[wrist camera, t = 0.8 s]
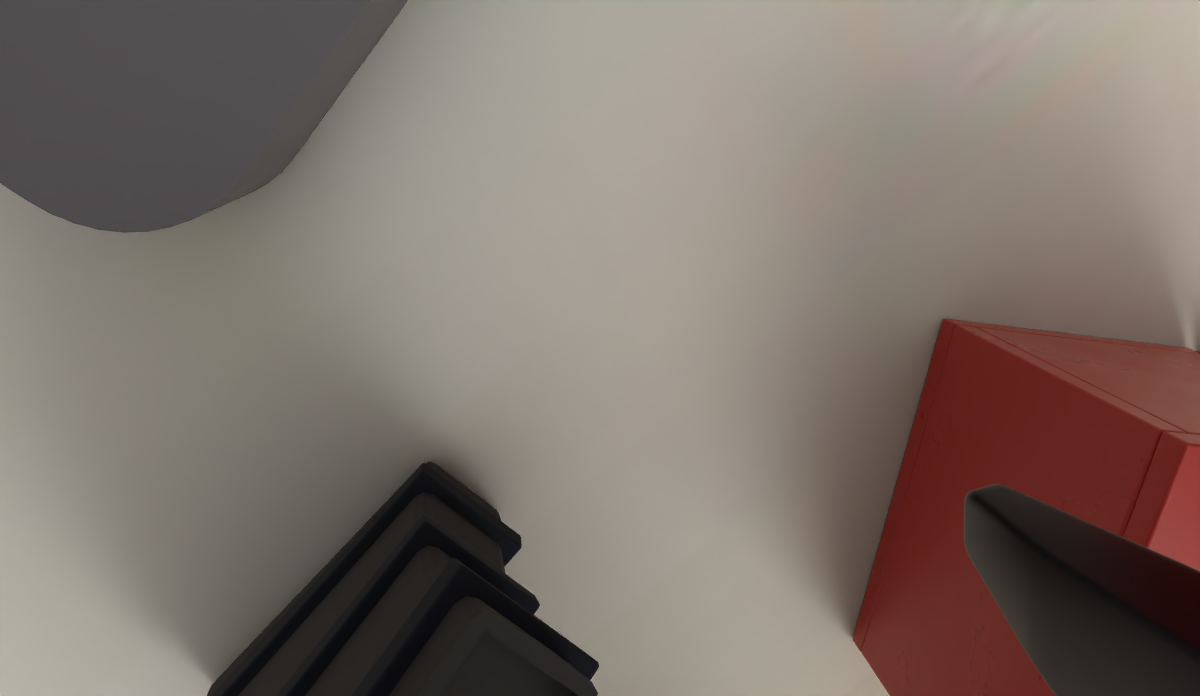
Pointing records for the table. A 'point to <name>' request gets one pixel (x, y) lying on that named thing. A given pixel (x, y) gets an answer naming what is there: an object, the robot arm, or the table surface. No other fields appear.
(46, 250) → the table surface
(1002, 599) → the robot arm
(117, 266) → the table surface
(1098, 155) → the table surface
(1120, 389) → the valve cabinet
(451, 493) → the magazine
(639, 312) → the table surface
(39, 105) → the streaming box
